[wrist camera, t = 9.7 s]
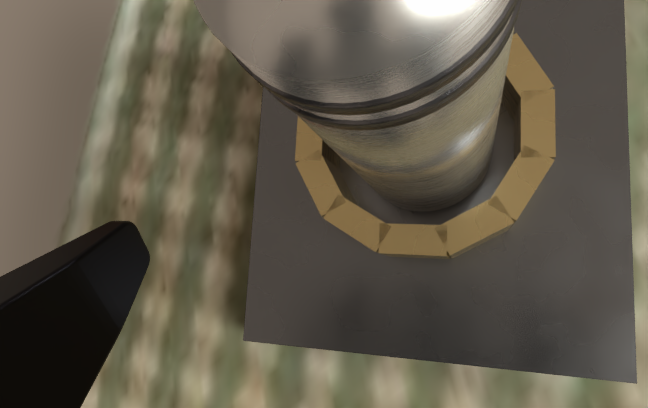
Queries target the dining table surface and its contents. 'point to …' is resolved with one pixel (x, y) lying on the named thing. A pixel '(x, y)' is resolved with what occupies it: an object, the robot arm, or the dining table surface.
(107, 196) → the dining table surface
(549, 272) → the tube holder stand
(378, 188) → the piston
